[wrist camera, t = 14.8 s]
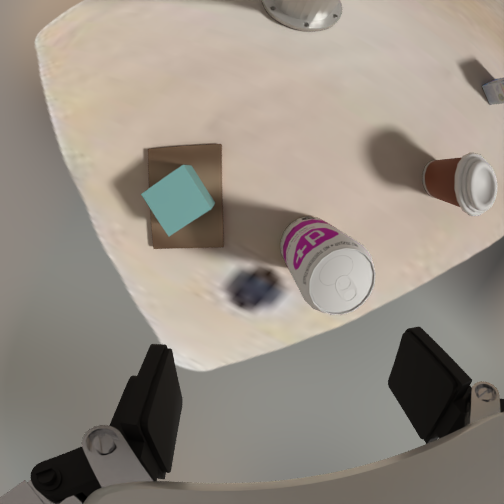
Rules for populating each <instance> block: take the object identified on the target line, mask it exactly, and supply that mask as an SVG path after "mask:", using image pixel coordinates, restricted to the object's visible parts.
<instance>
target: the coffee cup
mask: <svg viewBox="0 0 504 504" xmlns="http://www.w3.org/2000/svg"><path fill="white" fill-rule="evenodd" d="M423 185H424V188H425V190H426V192H427V193H428V194H429V195H430V196H432V197H434V198H437V199H440V200H443V201H445V202H448V203H451V204H453V205H456V206H459V207H461V209H462V210H463V211H464V212H465V213H467V214H468V215H470V216H479V215H481V214H482V213H484V212H485V211H487V210H488V209H489V208H491V206H492V205H493V203H494V201H495V198H496V194H497V179H496V175H495V172H494V170H493V168H492V166H491V165H490V164H489V163H488V162H487V161H486V160H485V159H484V158H483V157H482V156H481V155H480V154H476V153H468V154H466V155H464V156H463V157H462V158H453V159H443V160H433V161H431V162H428V164H427V165H426V166H425V168H424V171H423Z"/></svg>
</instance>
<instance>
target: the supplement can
mask: <svg viewBox="0 0 504 504" xmlns="http://www.w3.org/2000/svg"><path fill="white" fill-rule="evenodd" d="M280 248H281V254H282V256H283V259H284V261H285V263H286V265H287V267H288V269H289V271H290V273H291V275H292V276H293V278H294V280H295V282H296V284H297V286H298V288H299V290H300V292H301V294H302V296H303V298H304V300H305V301H306V302H307V303H308V304H309V305H310V306H311V307H312V308H313V309H316V310H318V311H321V312H323V313H328V314H330V315H343V314H346V313H349V312H353V311H354V310H356V309H357V308H358V307H360V306H361V305H363V303H364V302H365V301H366V300H367V299H368V297H369V296H370V294H371V292H372V290H373V287H374V284H375V270H374V264H373V260H372V257H371V254H370V253H369V252H368V250H367V249H366V248H365V246H364V245H362V244H361V243H359V242H358V241H356V240H355V239H353V238H351V237H350V236H348V235H347V234H345V233H343V232H342V231H340V230H338V229H337V228H335V227H334V226H332V225H330V224H329V223H327V222H325V221H323V220H321V219H320V218H318V217H310V216H307V217H303V218H299V219H297V220H295V221H294V222H292V223H291V224H289V226H288V227H287V228H286V230H285V231H284V232H283V235H282V238H281V242H280Z"/></svg>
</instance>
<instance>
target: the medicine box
mask: <svg viewBox="0 0 504 504" xmlns="http://www.w3.org/2000/svg"><path fill="white" fill-rule="evenodd" d="M482 88H483V90H484V92H485V95H486V97H487V100H488V102H489V104H490V105H492V104H502V103H504V78H499V79H495V80H493V81H491V82H488V83H486V84H484V85H482Z"/></svg>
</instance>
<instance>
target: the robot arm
mask: <svg viewBox="0 0 504 504" xmlns="http://www.w3.org/2000/svg"><path fill="white" fill-rule="evenodd" d="M262 3H263V6H264V8H265V9H266V11H267V12H268V13H269V14H270V15H271V16H272V17H273V18H274V19H275V20H277V21H278V22H280V23H282V24H283V25H286V26H288V27H291V28H294V29H297V30H303V31H321V30H325V29H328V28H330V27H332V26H333V25H334V24H335V23H337V21H338V20H339V19H340V17H341V14H342V4H341V1H340V0H262ZM471 382H472V379H471V378H470V377H469V376H468V375H467V374H466V373H465V372H464V371H463V370H462V369H461V368H460V367H459V366H458V364H457V363H455V361H454V360H453V359H452V358H451V357H450V356H449V355H448V354H447V353H446V352H445V351H444V350H443V349H442V348H441V347H440V346H439V345H438V344H437V343H436V342H435V341H434V340H433V339H432V338H431V337H430V336H429V335H428V334H427V333H426V332H425V331H424V330H423V329H422V328H420V327H414V328H409V329H407V330H406V331H405V333H404V334H403V335H402V339H401V342H400V346H399V349H398V352H397V355H396V359H395V362H394V365H393V368H392V371H391V374H390V377H389V380H388V385H389V388H390V389H391V391H392V392H393V394H394V396H395V397H396V399H397V401H398V402H399V404H400V405H401V407H402V409H403V410H404V412H405V414H406V415H407V417H408V418H409V420H410V422H411V423H412V425H413V427H414V428H415V430H416V432H417V433H418V435H419V437H420V438H421V439H424V441H425V442H426V445H423V446H421V447H418V448H415V449H413V450H410V451H408V452H405V453H402V454H399V455H396V456H393V457H390V458H387V459H384V460H380V461H377V462H374V463H370V464H367V465H363V466H359V467H355V468H351V469H347V470H343V471H338V472H333V473H328V474H323V475H317V476H311V477H305V478H297V479H290V480H281V481H270V482H254V483H191V482H169V481H157V478H158V479H165V474H166V472H167V473H169V472H171V467H172V461H173V455H174V449H175V443H176V437H177V432H178V426H179V420H180V414H181V410H182V395H181V391H180V386H179V382H178V377H177V372H176V368H175V363H174V357H173V352H172V349H167V346H166V345H161V344H151V345H150V348H149V350H148V352H147V354H146V357H145V359H144V362H143V364H142V366H141V369H140V371H139V373H138V376H131V377H130V379H129V381H128V383H127V385H126V388H125V390H124V392H123V394H122V397H121V399H120V402H119V404H118V406H117V409H116V411H115V413H114V416H113V418H112V421H111V423H110V426H108V425H99V426H95V427H93V428H91V429H89V430H88V431H87V432H86V433H85V434H84V436H83V438H82V447H80V448H77V449H75V450H72V451H70V452H67V453H65V454H62V455H59V456H57V457H54V458H52V459H49V460H46V461H43V462H41V463H39V464H37V465H36V466H35V467H34V468H33V470H32V472H31V480H30V481H29V482H26V481H25V480H24V481H23V482H21V483H20V484H19V485H17V486H16V487H14V488H13V489H11V490H10V491H9V492H7V493H6V494H4V495H3V496H1V497H0V504H504V399H500V397H499V392H498V390H497V388H496V387H495V386H494V385H492V384H490V383H488V382H482V381H481V382H477V383H475V384H474V385H473V387H472V388H471V386H470V384H471ZM438 437H439V439H438Z"/></svg>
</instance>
